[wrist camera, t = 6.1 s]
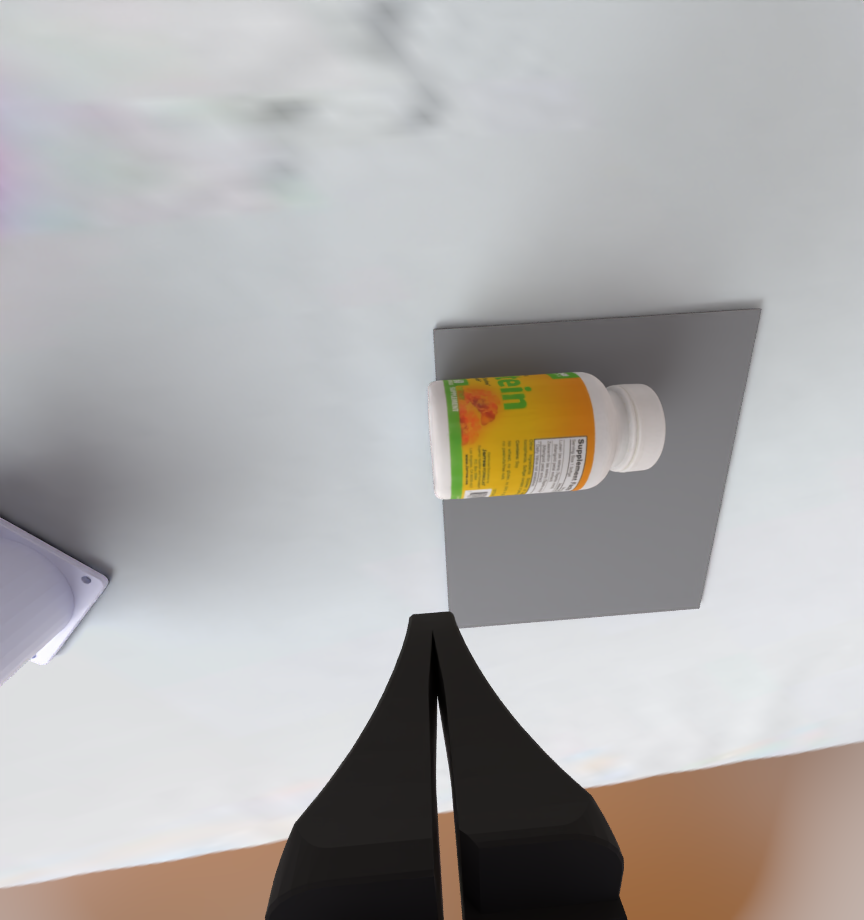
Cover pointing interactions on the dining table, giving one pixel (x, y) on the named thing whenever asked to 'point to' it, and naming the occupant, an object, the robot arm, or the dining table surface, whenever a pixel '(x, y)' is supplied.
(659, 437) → the supplement bottle
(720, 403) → the slate mat
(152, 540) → the dining table surface
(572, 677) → the dining table surface
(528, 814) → the robot arm
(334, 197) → the dining table surface
